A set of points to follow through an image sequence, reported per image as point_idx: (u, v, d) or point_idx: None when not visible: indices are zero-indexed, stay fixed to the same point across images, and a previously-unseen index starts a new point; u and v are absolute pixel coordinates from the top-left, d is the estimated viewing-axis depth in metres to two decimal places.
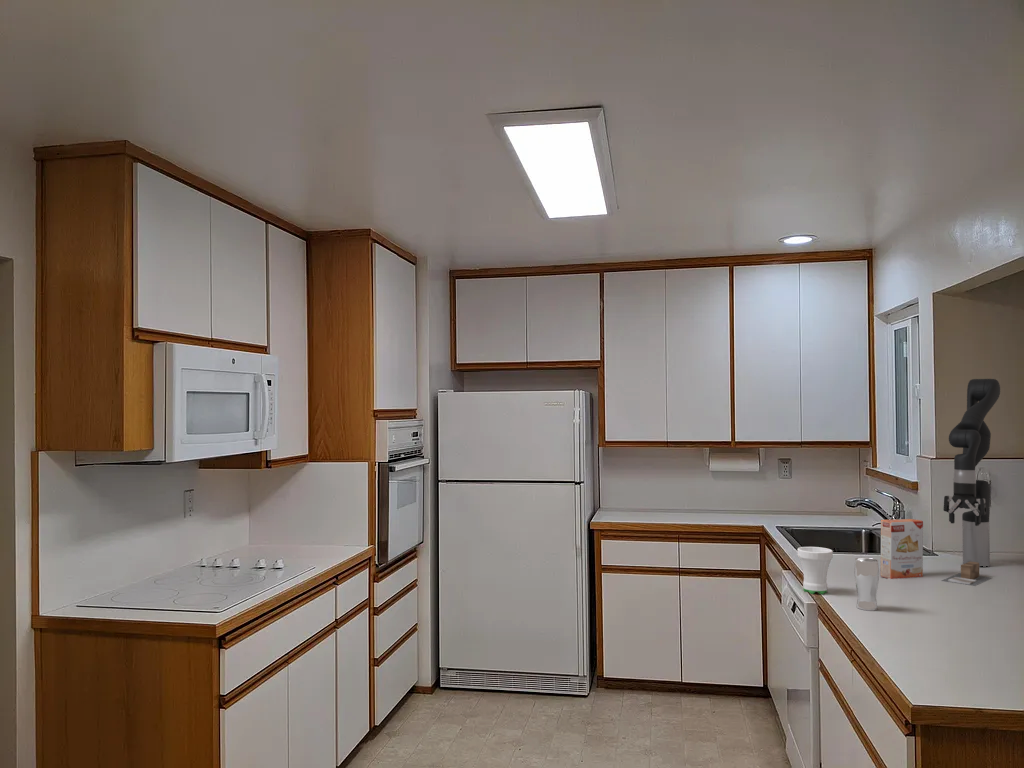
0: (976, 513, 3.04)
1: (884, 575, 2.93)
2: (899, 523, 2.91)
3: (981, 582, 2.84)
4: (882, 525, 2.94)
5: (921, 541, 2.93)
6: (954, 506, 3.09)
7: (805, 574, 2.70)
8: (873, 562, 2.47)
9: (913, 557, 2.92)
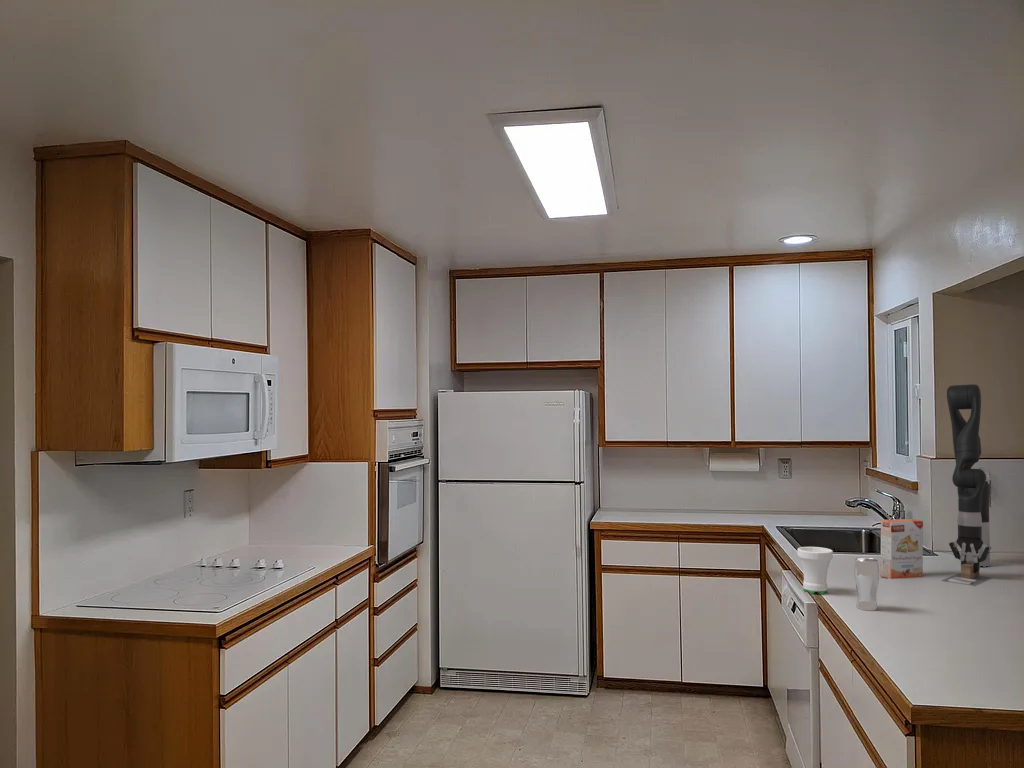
0: (975, 560, 2.89)
1: (884, 575, 2.93)
2: (899, 523, 2.91)
3: (981, 582, 2.84)
4: (882, 525, 2.94)
5: (921, 541, 2.93)
6: (963, 552, 2.92)
7: (805, 574, 2.70)
8: (873, 562, 2.47)
9: (913, 557, 2.92)
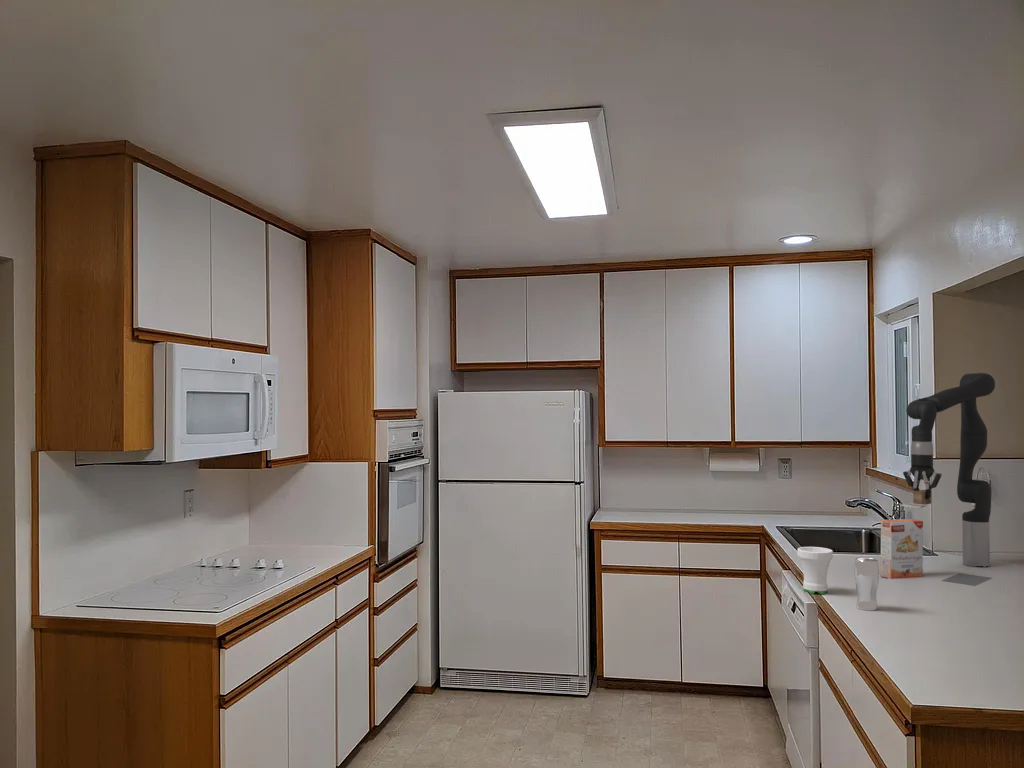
0: (927, 486, 3.06)
1: (884, 575, 2.93)
2: (899, 523, 2.91)
3: (981, 582, 2.84)
4: (882, 525, 2.94)
5: (921, 541, 2.93)
6: (915, 479, 3.08)
7: (805, 574, 2.70)
8: (873, 562, 2.47)
9: (913, 557, 2.92)
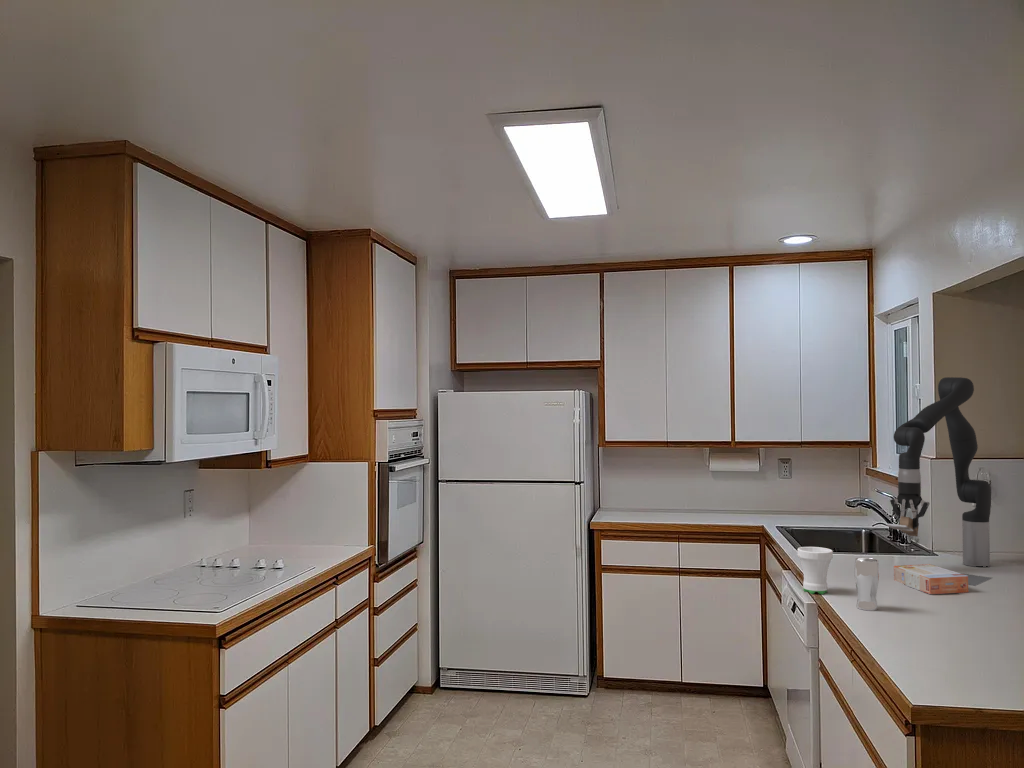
0: (914, 515, 2.98)
1: (894, 572, 2.87)
2: (938, 593, 2.68)
3: (981, 582, 2.84)
4: (926, 580, 2.69)
5: None
6: (902, 508, 3.00)
7: (805, 574, 2.70)
8: (873, 562, 2.47)
9: None
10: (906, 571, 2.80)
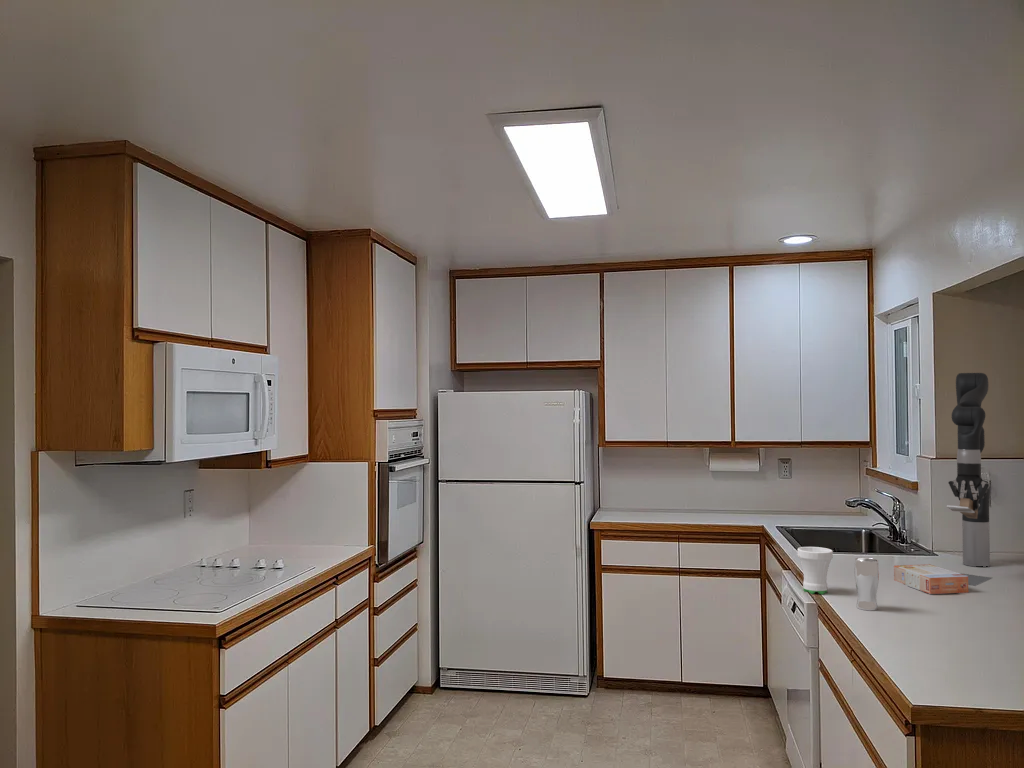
0: (974, 497, 2.90)
1: (895, 571, 2.87)
2: (938, 593, 2.68)
3: (981, 582, 2.84)
4: (926, 579, 2.69)
5: None
6: (962, 489, 2.92)
7: (805, 574, 2.70)
8: (873, 562, 2.47)
9: None
10: (906, 571, 2.80)
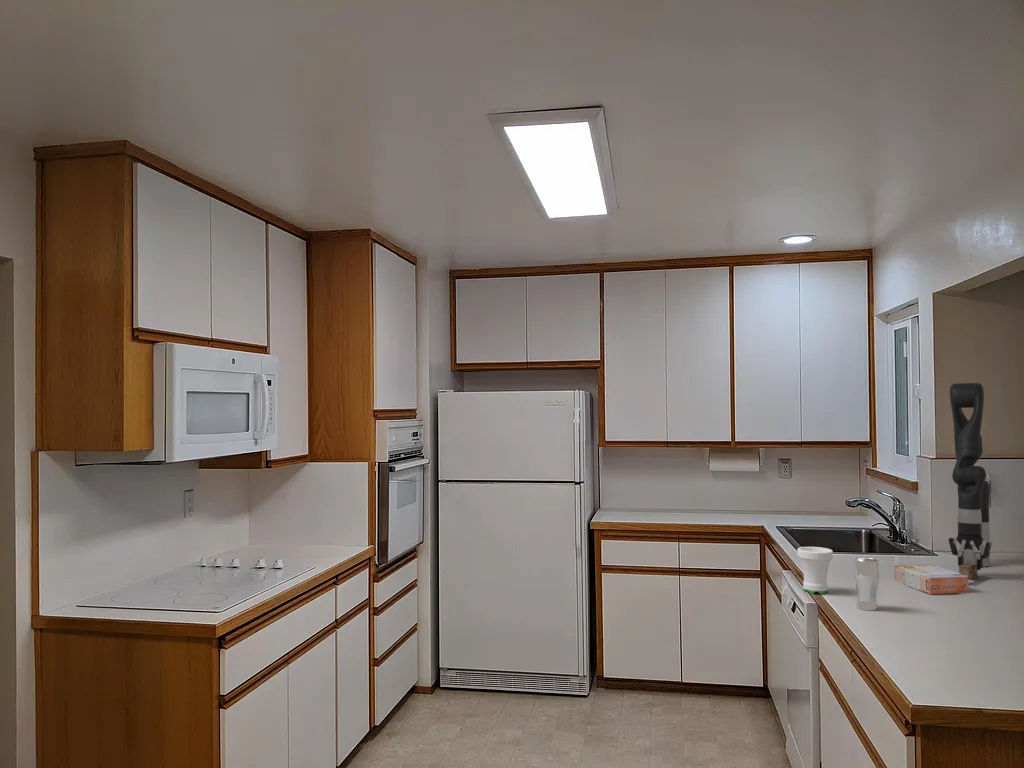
0: (978, 556, 2.88)
1: (895, 571, 2.87)
2: (938, 593, 2.68)
3: (981, 582, 2.84)
4: (926, 579, 2.69)
5: None
6: (961, 548, 2.92)
7: (805, 574, 2.70)
8: (873, 562, 2.47)
9: None
10: (906, 571, 2.80)
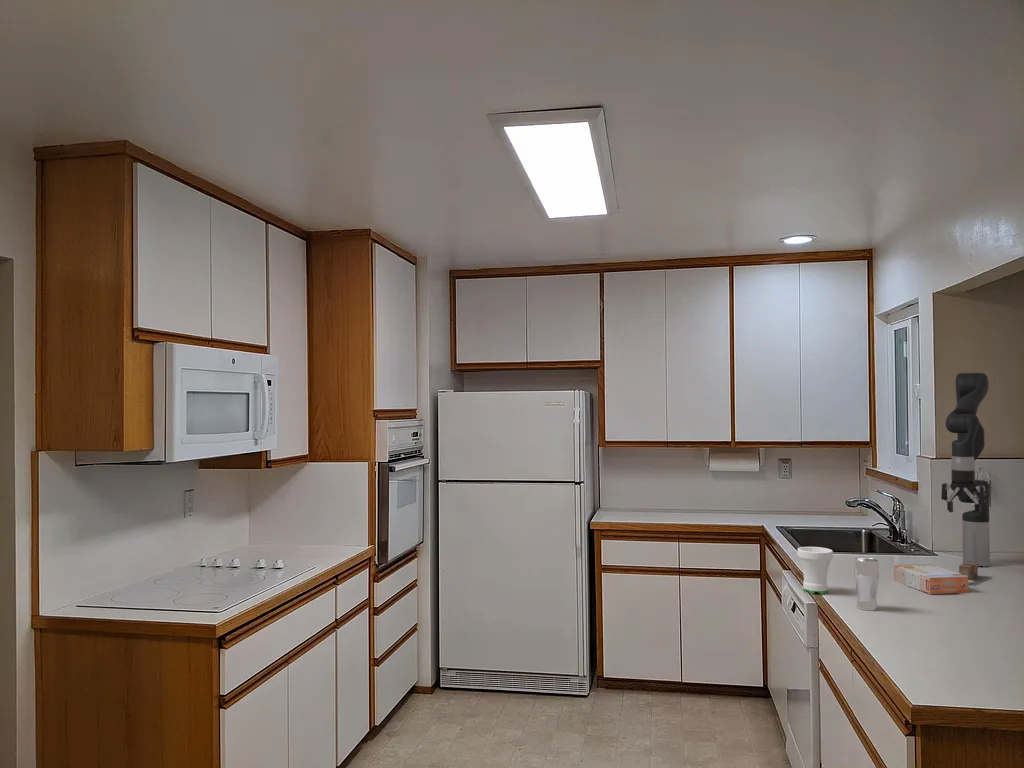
0: (976, 501, 2.91)
1: (895, 571, 2.87)
2: (938, 593, 2.68)
3: (981, 582, 2.84)
4: (926, 579, 2.69)
5: None
6: (952, 494, 2.96)
7: (805, 574, 2.70)
8: (873, 562, 2.47)
9: None
10: (906, 571, 2.80)
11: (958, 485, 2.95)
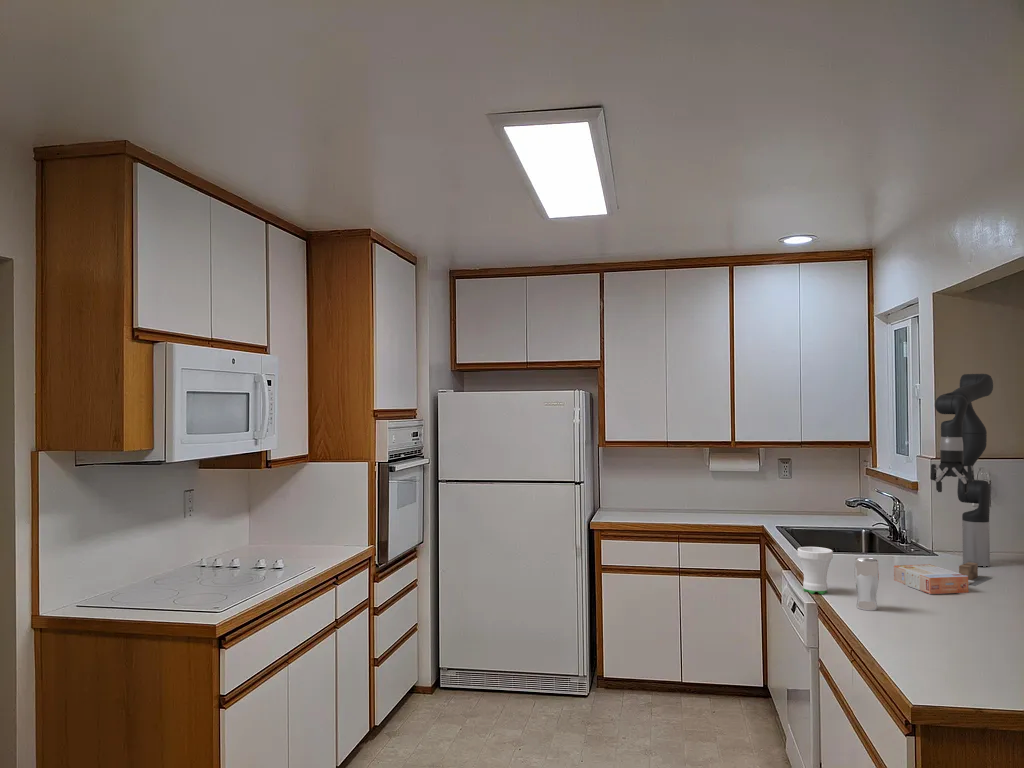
0: (964, 481, 2.96)
1: (895, 571, 2.87)
2: (938, 593, 2.68)
3: (981, 582, 2.84)
4: (926, 579, 2.69)
5: None
6: (941, 474, 3.01)
7: (805, 574, 2.70)
8: (873, 562, 2.47)
9: None
10: (906, 571, 2.80)
11: (947, 465, 3.00)
